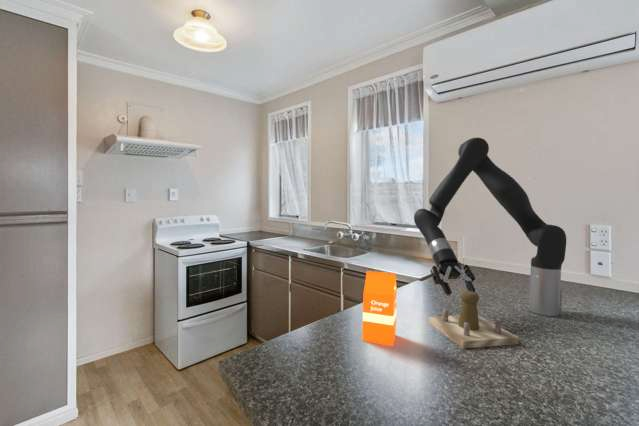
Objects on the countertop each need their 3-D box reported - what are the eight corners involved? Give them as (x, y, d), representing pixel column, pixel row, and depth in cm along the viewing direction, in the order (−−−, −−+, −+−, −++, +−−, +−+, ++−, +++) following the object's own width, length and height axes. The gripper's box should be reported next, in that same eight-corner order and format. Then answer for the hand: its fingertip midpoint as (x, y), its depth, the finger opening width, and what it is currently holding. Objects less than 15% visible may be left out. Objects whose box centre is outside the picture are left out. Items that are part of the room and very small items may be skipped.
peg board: (476, 319, 107) (476, 304, 107) (518, 343, 89) (519, 325, 89) (429, 322, 104) (429, 306, 103) (463, 348, 86) (463, 329, 86)
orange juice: (392, 346, 87) (394, 276, 86) (362, 340, 90) (363, 273, 89) (395, 334, 94) (397, 270, 93) (367, 330, 97) (368, 268, 96)
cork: (481, 331, 93) (483, 295, 92) (460, 329, 94) (461, 293, 94) (476, 323, 99) (477, 289, 98) (456, 321, 100) (457, 288, 100)
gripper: (428, 247, 107) (447, 289, 97) (464, 247, 110) (486, 287, 99) (420, 259, 113) (437, 300, 102) (455, 258, 116) (474, 298, 105)
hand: (461, 293), depth 101 cm, fingers open, 8 cm apart
